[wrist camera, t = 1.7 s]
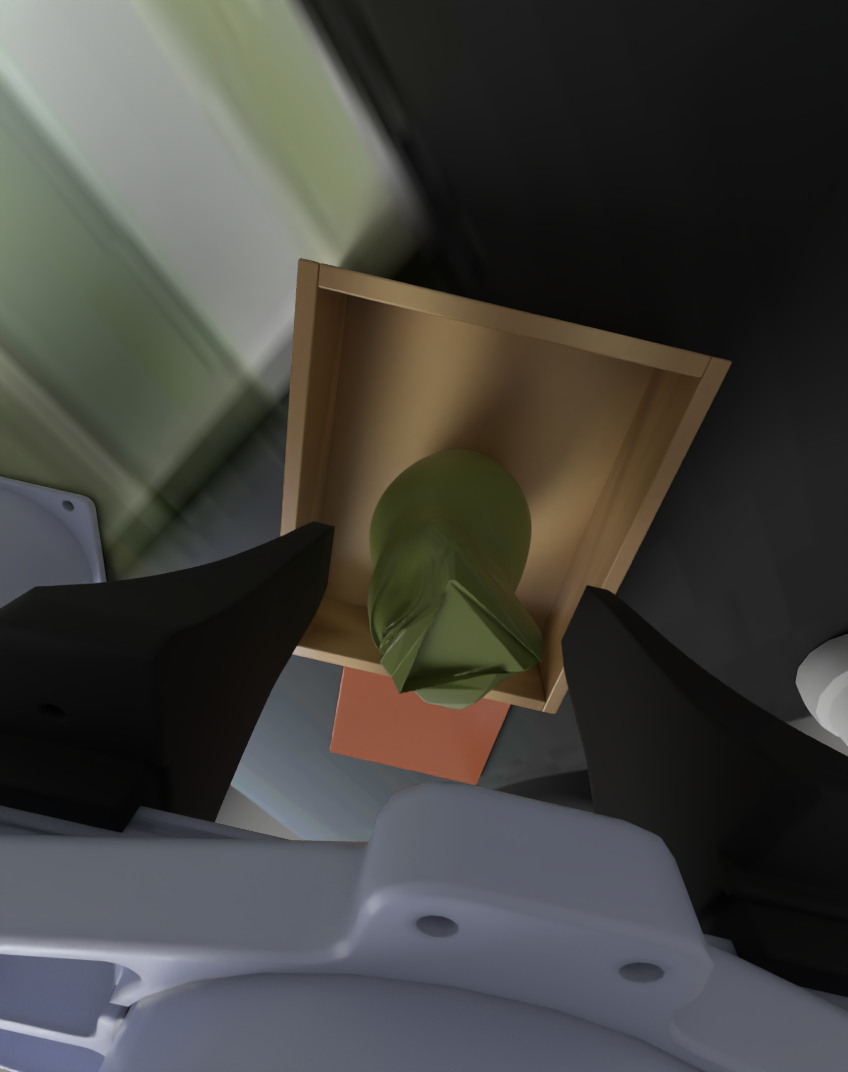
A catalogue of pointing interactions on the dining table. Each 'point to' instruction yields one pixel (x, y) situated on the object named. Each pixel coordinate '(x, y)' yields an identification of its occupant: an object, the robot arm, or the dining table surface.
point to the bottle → (827, 685)
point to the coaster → (413, 728)
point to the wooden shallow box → (480, 441)
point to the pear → (451, 579)
